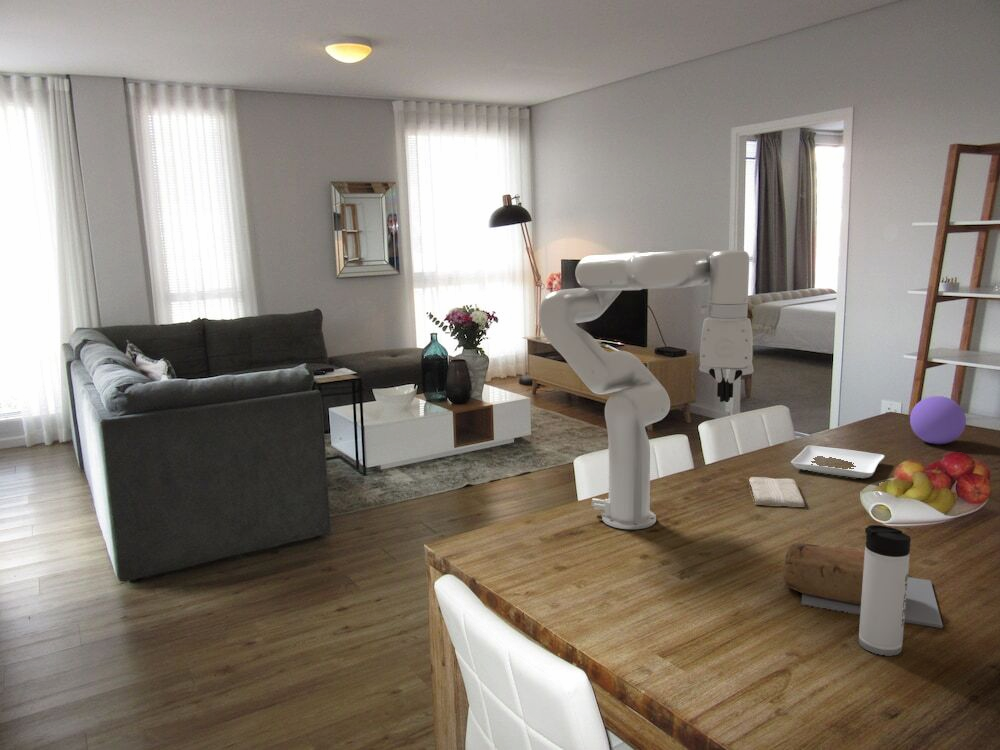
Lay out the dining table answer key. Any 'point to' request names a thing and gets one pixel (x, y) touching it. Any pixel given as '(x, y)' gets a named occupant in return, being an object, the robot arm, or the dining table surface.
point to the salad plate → (861, 460)
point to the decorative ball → (937, 420)
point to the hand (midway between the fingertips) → (724, 400)
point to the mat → (917, 608)
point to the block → (825, 572)
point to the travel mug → (884, 590)
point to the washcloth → (776, 492)
